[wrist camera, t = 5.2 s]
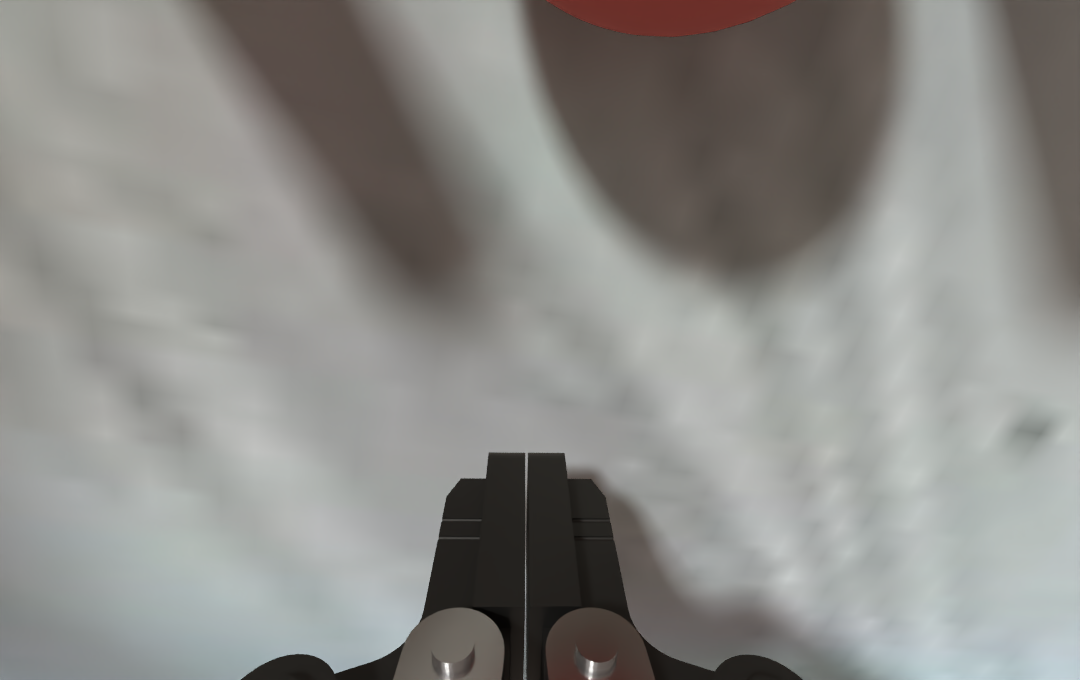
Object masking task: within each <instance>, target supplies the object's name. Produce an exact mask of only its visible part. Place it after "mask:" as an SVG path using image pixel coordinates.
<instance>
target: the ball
mask: <svg viewBox="0 0 1080 680" xmlns="http://www.w3.org/2000/svg"><path fill="white" fill-rule="evenodd" d="M546 1H548V2H549V3H551V4H553V5H554V6H556V7H558V8H559V9H561V10H563V11H564V12H566V13H568V14H570V15H572V16H574V17H576V18H578V19H580V20H583V21H585V22H588V23H590V24H593V25H596V26H599V27H602V28H605V29H609V30H613V31H617V32H621V33H626V34H633V35H643V36H663V37H677V36H685V35H693V34H701V33H708V32H714V31H718V30H722V29H725V28H729V27H732V26H736V25H739V24H743V23H746V22H749V21H752V20H754V19H756V18H759V17H761V16H763V15H766V14H768V13H770V12H773V11H775V10H777V9H779V8H782V7H784V6H786V5H789V4H790V3H792V2H794V1H796V0H546Z"/></svg>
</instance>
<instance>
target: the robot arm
mask: <svg viewBox="0 0 1080 680" xmlns="http://www.w3.org/2000/svg"><path fill="white" fill-rule="evenodd" d="M524 621H525V453H489V456H488V465H487V474H486V479H460V481H459V482H458V483H457V484H456V486H455V487H454V488H453V489H452V491H451V492H450V493H449V494H448V495H447V497H446V502H445V507H444V512H443V517H442V522H441V527H440V532H439V540H438V542H437V547H436V552H435V557H434V562H433V567H432V572H431V577H430V582H429V587H428V592H427V597H426V602H425V607H424V611H423V615H422V618H421V620H420V622H419V624H418V625H417V626H416V627H415V628H414V629H413V630H412V631H411V633H410V634H409V636H408V638H407V639H406V641H405V642H404V643H403V644H402V645H401V646H400V647H399V648H397V649H396V650H394V651H393V652H392V653H390V654H388V655H386V656H384V657H383V658H381V659H378V660H376V661H373V662H370V663H367V664H364V665H361V666H358V667H355V668H351V669H348V670H345V671H342V672H339V673H336V674H334V672H333V670H332V669H331V668H330V666H329V665H328V664H327V663H325V662H324V661H323V660H321V659H319V658H317V657H315V656H310V655H304V654H295V655H287V656H283V657H279V658H276V659H274V660H271V661H269V662H267V663H265V664H263V665H261V666H259V667H258V668H256V669H255V670H253V671H252V672H250V673H249V674H247V675H246V676H245V677H244V678H242V679H241V680H523V662H524ZM526 680H803V679H801V678H800V677H799V676H798V675H796V674H795V673H794V672H792V671H791V670H789V669H788V668H787V667H785V666H783V665H781V664H779V663H778V662H776V661H773V660H771V659H768V658H765V657H761V656H756V655H739V656H735V657H732V658H729V659H727V660H725V661H724V662H723V663H722V664H720V665H719V667H718V668H717V669H716V671H715V672H714V671H711V670H707V669H704V668H701V667H698V666H695V665H691V664H688V663H685V662H682V661H679V660H676V659H674V658H671V657H669V656H667V655H665V654H663V653H661V652H660V651H658V650H657V649H656V648H654V647H653V646H652V645H650V644H649V643H648V642H647V641H646V640H645V639H644V638H643V637H642V636H641V634H640V633H639V632H638V630H637V629H636V627H635V626H634V624H633V622H632V620H631V618H630V615H629V611H628V607H627V602H626V597H625V592H624V587H623V582H622V577H621V572H620V567H619V562H618V557H617V552H616V547H615V543H614V541H613V533H612V528H611V523H610V518H609V513H608V508H607V503H606V498H605V496H604V495H603V494H602V492H601V491H600V490H599V489H598V487H597V486H596V485H595V484H594V482H593V481H592V480H591V479H567V471H566V462H565V454H564V453H528V479H527V523H526Z"/></svg>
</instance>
